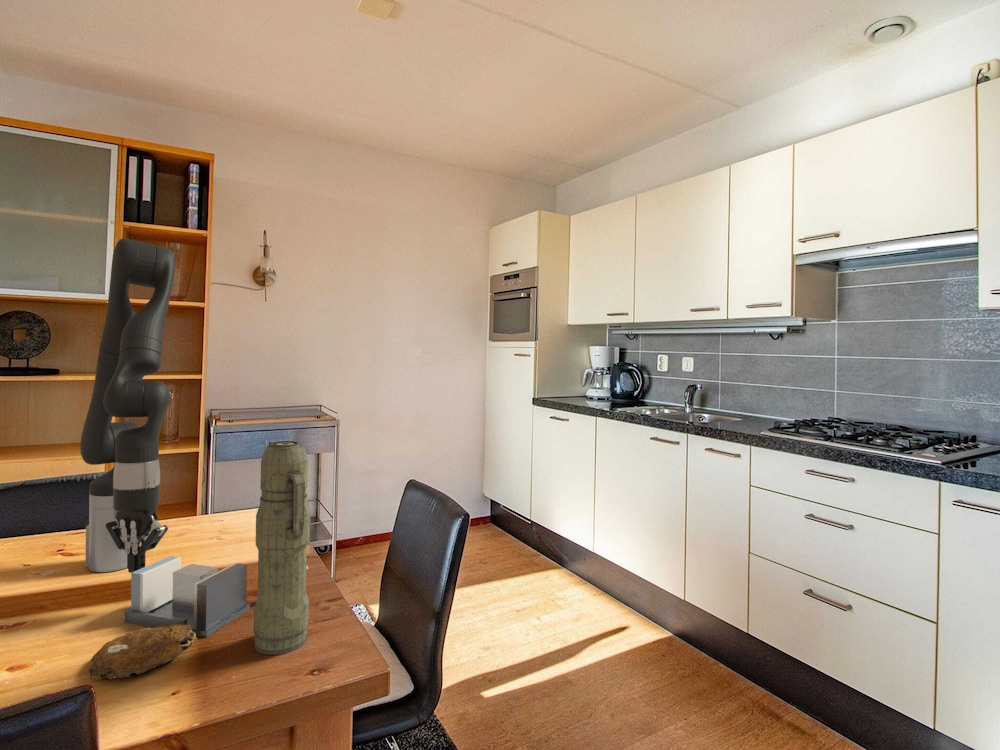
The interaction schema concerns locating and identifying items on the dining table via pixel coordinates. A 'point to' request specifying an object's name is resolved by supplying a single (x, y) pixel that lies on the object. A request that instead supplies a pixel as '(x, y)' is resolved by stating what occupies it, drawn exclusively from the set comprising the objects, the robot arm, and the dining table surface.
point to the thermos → (282, 550)
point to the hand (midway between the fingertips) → (136, 571)
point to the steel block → (188, 587)
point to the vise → (204, 603)
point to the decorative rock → (141, 650)
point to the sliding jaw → (153, 584)
